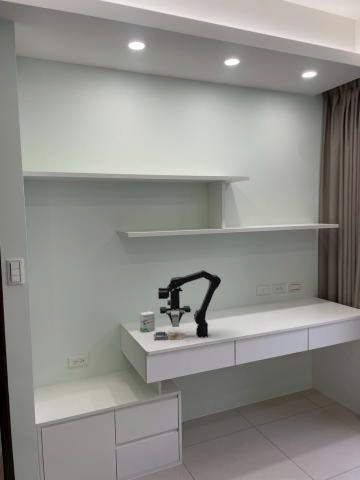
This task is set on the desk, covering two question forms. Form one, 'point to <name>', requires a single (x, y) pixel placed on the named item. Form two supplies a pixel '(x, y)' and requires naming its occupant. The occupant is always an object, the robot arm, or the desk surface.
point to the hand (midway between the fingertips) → (175, 323)
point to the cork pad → (175, 336)
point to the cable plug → (175, 320)
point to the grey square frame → (157, 337)
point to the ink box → (147, 321)
